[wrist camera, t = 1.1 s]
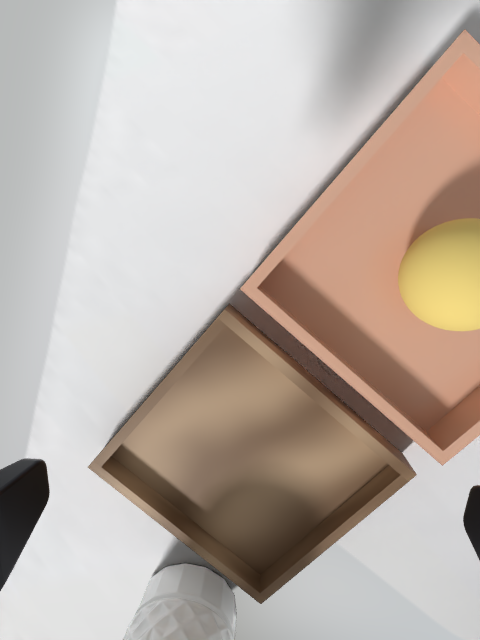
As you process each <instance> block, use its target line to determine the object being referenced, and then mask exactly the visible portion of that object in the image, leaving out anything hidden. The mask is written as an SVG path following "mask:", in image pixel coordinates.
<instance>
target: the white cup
mask: <svg viewBox="0 0 480 640" xmlns="http://www.w3.org/2000/svg"><path fill="white" fill-rule="evenodd" d="M235 631H236V604H235V595H234V593H233V592H232V590H231V589H230V587H229V586H228V584H227V583H226V581H225V580H224V579H223V578H222V577H220V576H219V575H217V574H216V573H214V572H213V571H211V570H209V569H208V568H206V567H202V566H197V565H192V564H187V563H183V564H178V565H172V566H167V567H165V568H163V569H162V570H161V571H159V572H158V573H157V574H155V575H154V576H153V577H151V579H150V581H149V583H148V586H147V588H146V591H145V593H144V596H143V598H142V601H141V603H140V606H139V608H138V610H137V612H136V614H135V616H134V618H133V620H132V621H131V623H130V624H129V626H128V628H127V631H126V633H125V636H124V638H123V640H235Z"/></svg>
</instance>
